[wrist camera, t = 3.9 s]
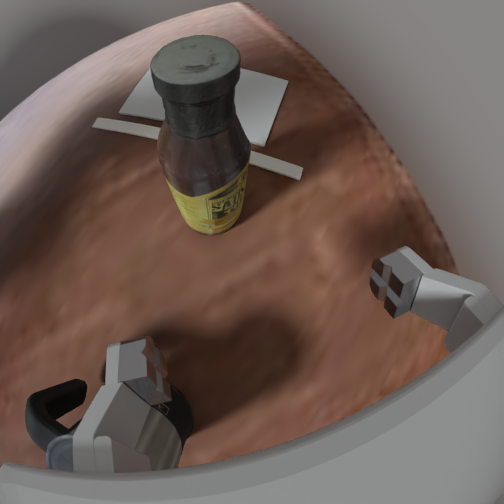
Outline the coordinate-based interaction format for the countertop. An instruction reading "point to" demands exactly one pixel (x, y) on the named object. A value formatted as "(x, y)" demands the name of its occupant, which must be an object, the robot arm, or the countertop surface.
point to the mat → (246, 102)
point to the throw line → (153, 133)
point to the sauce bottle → (202, 130)
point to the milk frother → (68, 398)
